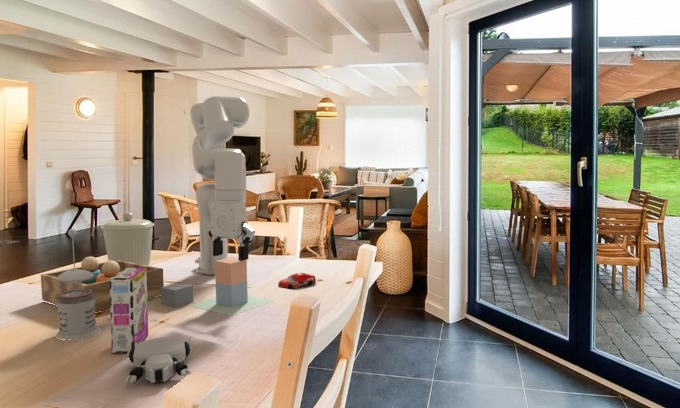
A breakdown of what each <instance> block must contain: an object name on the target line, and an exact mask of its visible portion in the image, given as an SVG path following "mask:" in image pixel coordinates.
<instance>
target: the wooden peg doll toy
mask: <svg viewBox="0 0 680 408" xmlns="http://www.w3.org/2000/svg"><path fill="white" fill-rule="evenodd" d="M99 263H100V262H99V260H98V259H97V258H96V257H94V256H86V257H84V258H83V259H82V260H81V263H80V267H82V269H83V270H86V271H89V272H91V273H93V274H94V277H93V278H91V279H88V280H84V281H81V282H82V283H83V284H87V285H89V284H93V283H97V282H102V281H106V280H109V279H110V278H112V277H113V276H115V275H117V274H118V273H120V272H119V270H120V267H119V264H118V263H117V262H115V261H108V260H107V261H105V263H104V262H103V263H104V264H103V266H102V273H103V274H102V273H101V272H100V270H97V269H98V267H99ZM79 282H80V281H79Z"/></svg>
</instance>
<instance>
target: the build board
mask: <svg viewBox="0 0 680 408" xmlns="http://www.w3.org/2000/svg"><path fill="white" fill-rule="evenodd" d="M272 302H273V300H272V299H267V298H261V297H257V296H252V295H248V302H247V303H244V304H241V305H238V306H235V307H232V308H231V307H227V306H222V305H218V304H216V297H212V298H210V299H206V300H203V301H200V302H197V303H194V304H190V305H189V306H190V307H193V308H197V309H201V310H205V311H209V312H213V313H219V314H222V315H226V316H231V317H233V316H236V315H238V314H239V315H240V314H241V313H243V312H247V311H250V310H252V309H255V308H258V307H260V306H262V305H266V304H268V303H272Z"/></svg>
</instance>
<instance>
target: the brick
mask: <svg viewBox="0 0 680 408" xmlns="http://www.w3.org/2000/svg"><path fill="white" fill-rule="evenodd" d="M247 263H248V259H247V260H243V261H239V258H238V257H232V256H231V257H228V258H226V259H222V260H217V261H215V274H214V275H215V276H214V278H215V284H216V283H220V284H225V285H230V286H232V285H235V284H239V283H242V282H246V281H247V282H248V267H247V266H248V264H247Z"/></svg>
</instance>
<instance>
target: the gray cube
mask: <svg viewBox="0 0 680 408" xmlns="http://www.w3.org/2000/svg"><path fill="white" fill-rule="evenodd" d="M193 286H194V285H193V284H187V283H181V282H176V283H171V284H167V285H164V286H163V287H161V296H160V298H161V299H160V302H161V303H160V304H161V305H165V306H169V307H172V308H179V307H181V306H185V305H188V304H191V303H194V289H193V288H194V287H193Z"/></svg>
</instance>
